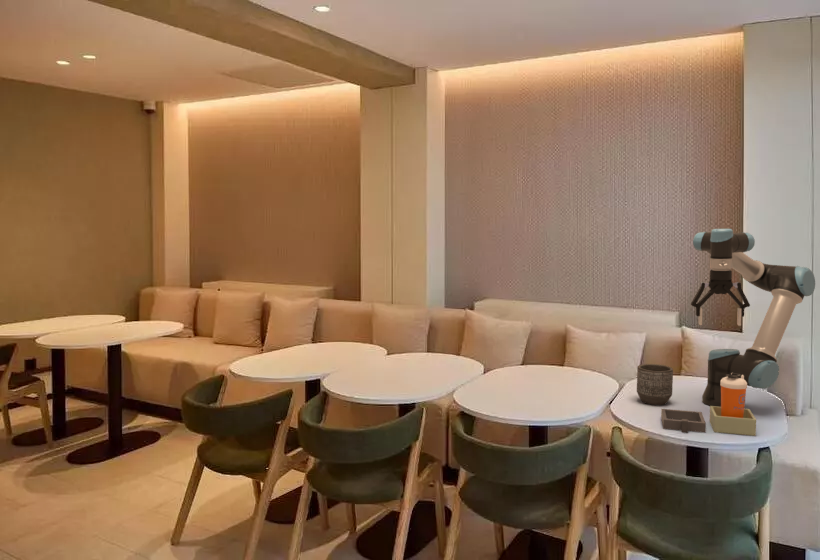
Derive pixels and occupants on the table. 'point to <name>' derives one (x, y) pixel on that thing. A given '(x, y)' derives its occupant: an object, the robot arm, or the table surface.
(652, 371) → the planter
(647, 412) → the table surface
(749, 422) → the sage holder
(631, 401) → the table surface
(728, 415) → the shaker bottle
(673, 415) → the collar
